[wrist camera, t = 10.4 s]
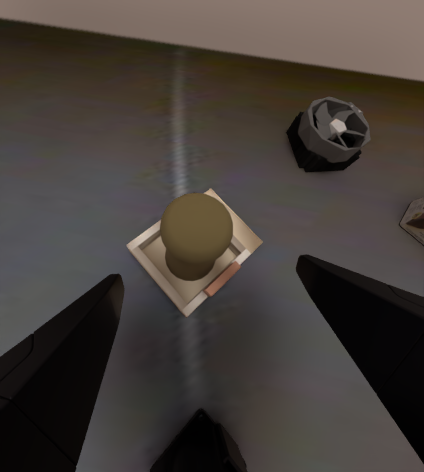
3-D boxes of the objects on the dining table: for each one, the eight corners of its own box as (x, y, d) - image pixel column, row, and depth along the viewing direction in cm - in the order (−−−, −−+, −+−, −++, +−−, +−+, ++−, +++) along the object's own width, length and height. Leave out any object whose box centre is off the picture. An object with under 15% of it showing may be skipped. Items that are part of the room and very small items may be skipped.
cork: (188, 292, 21) (194, 289, 10) (153, 252, 22) (128, 212, 11) (226, 257, 23) (263, 225, 12) (193, 221, 23) (203, 163, 13)
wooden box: (185, 316, 21) (187, 323, 16) (130, 251, 22) (115, 237, 17) (259, 244, 25) (280, 230, 20) (209, 192, 26) (216, 166, 21)
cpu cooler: (322, 150, 25) (299, 93, 27) (297, 176, 30) (280, 127, 33) (384, 148, 27) (357, 96, 29) (350, 173, 32) (330, 127, 35)
